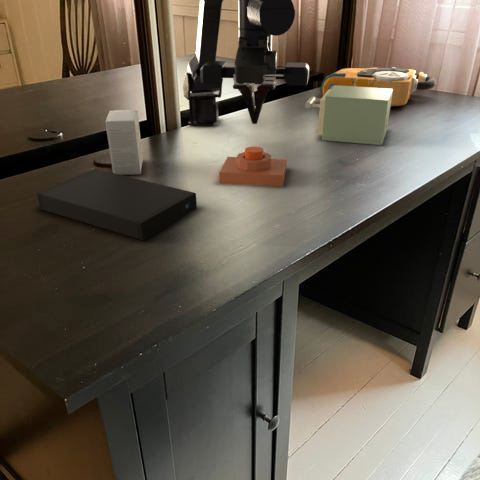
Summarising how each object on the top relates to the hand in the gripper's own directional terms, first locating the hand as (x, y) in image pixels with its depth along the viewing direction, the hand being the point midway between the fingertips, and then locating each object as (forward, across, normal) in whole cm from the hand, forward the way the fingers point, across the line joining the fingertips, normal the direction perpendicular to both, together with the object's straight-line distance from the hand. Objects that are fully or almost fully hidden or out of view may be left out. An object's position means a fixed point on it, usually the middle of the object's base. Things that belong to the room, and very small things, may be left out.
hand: (254, 123), depth 99 cm
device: (+10, +27, +66) cm, 72 cm away
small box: (+10, -26, +1) cm, 28 cm away
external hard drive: (+10, -21, -19) cm, 30 cm away
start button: (+7, 0, 0) cm, 7 cm away
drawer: (+9, +16, +30) cm, 36 cm away
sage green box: (+10, +20, +30) cm, 37 cm away
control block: (+10, 0, 0) cm, 10 cm away
